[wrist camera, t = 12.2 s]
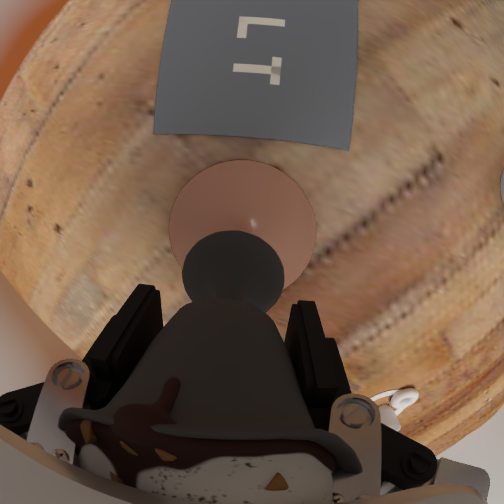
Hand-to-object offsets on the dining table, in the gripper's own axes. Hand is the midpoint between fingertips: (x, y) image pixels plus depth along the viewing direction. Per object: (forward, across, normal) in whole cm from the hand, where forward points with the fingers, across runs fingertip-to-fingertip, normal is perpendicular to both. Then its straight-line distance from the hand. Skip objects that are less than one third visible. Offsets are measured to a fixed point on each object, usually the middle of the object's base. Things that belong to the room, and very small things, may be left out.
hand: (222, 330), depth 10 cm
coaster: (+11, 0, 0) cm, 11 cm away
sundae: (+4, 0, 0) cm, 4 cm away
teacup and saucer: (+11, -22, +21) cm, 32 cm away
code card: (+11, 0, -13) cm, 17 cm away
